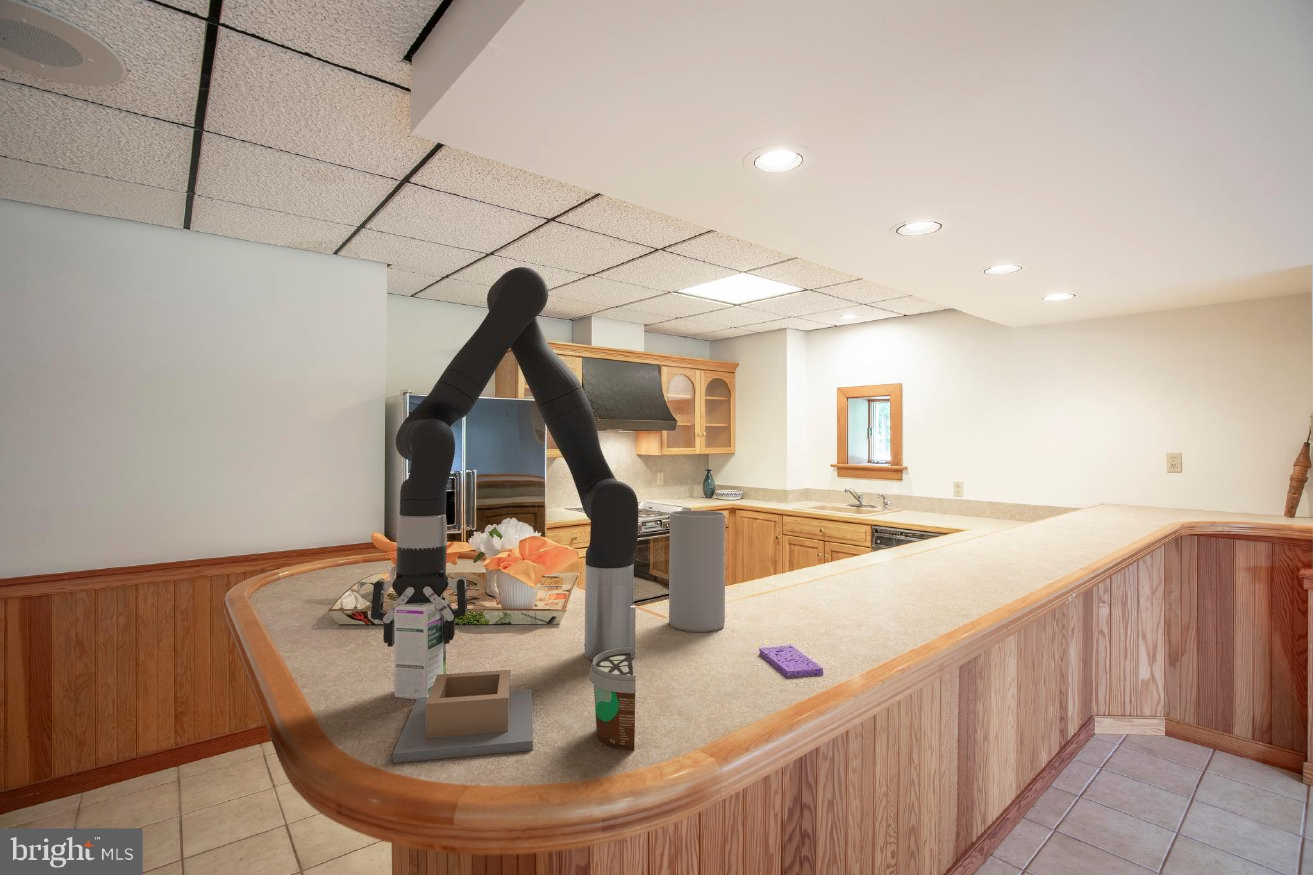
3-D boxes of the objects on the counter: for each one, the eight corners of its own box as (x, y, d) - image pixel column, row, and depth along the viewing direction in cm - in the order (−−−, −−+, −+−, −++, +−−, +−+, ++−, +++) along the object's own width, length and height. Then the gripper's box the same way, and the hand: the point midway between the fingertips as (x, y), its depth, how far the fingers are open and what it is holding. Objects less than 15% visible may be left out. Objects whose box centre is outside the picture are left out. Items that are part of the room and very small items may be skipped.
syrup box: (426, 700, 93) (428, 606, 94) (392, 697, 94) (394, 604, 95) (446, 686, 99) (447, 597, 99) (414, 683, 100) (415, 595, 100)
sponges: (791, 654, 118) (791, 644, 118) (824, 677, 106) (824, 666, 106) (758, 656, 116) (758, 647, 116) (787, 681, 104) (787, 670, 104)
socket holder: (531, 697, 95) (532, 660, 95) (532, 750, 78) (533, 705, 78) (417, 705, 91) (417, 668, 92) (392, 763, 75) (393, 716, 75)
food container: (589, 715, 89) (589, 646, 89) (630, 714, 89) (631, 646, 90) (586, 757, 77) (587, 678, 77) (635, 756, 77) (635, 677, 77)
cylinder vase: (665, 617, 141) (666, 510, 141) (718, 616, 142) (719, 510, 143) (672, 634, 128) (674, 516, 129) (730, 632, 130) (731, 516, 130)
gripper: (470, 538, 102) (468, 635, 102) (380, 539, 100) (377, 638, 99) (465, 545, 95) (463, 649, 95) (368, 547, 92) (365, 654, 92)
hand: (419, 643), depth 97 cm, fingers open, 8 cm apart
